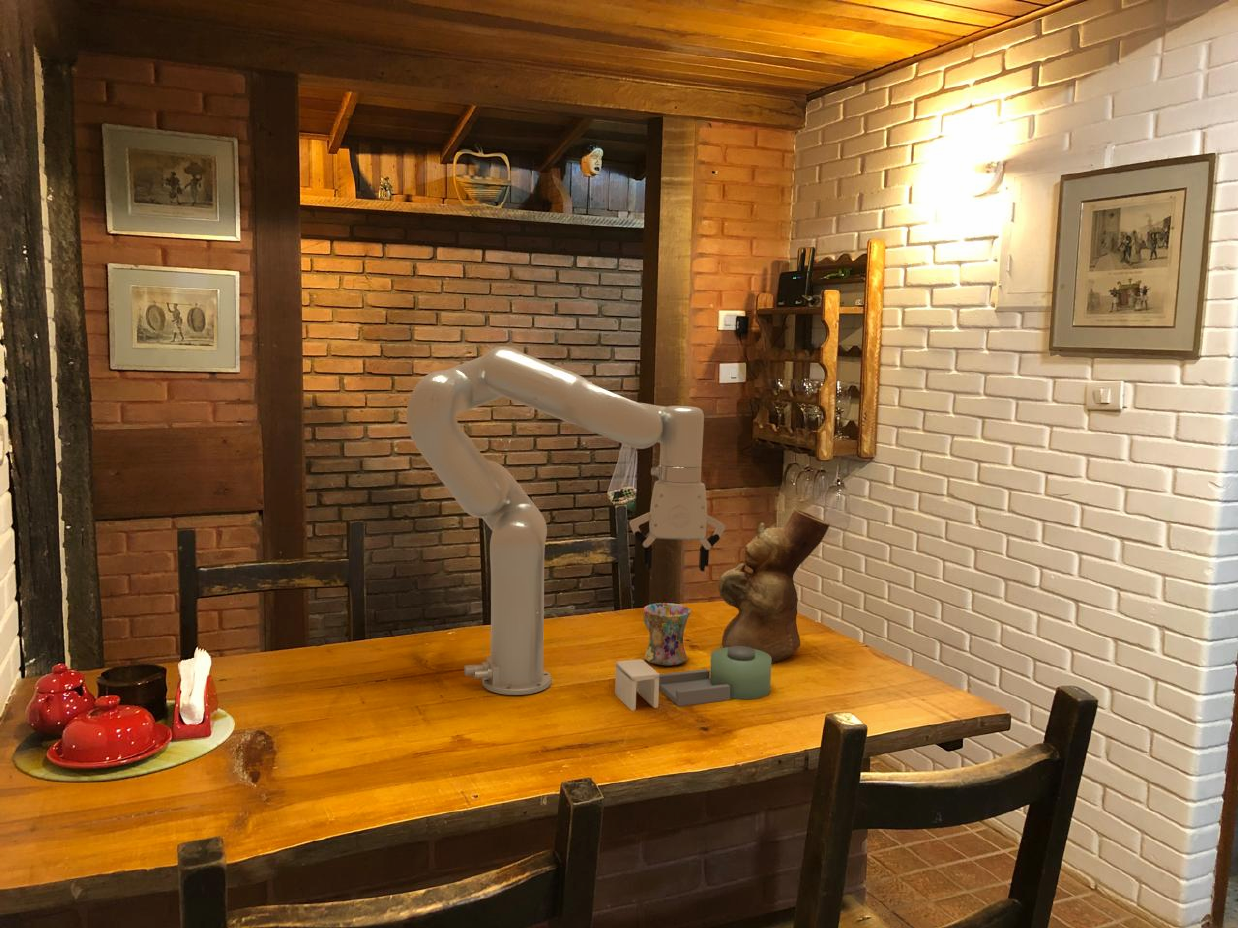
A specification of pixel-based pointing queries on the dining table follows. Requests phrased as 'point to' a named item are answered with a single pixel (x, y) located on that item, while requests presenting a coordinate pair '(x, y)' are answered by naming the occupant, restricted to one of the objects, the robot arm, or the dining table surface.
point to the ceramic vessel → (770, 586)
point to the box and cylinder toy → (721, 678)
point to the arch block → (645, 682)
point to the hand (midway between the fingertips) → (675, 568)
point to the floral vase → (666, 633)
